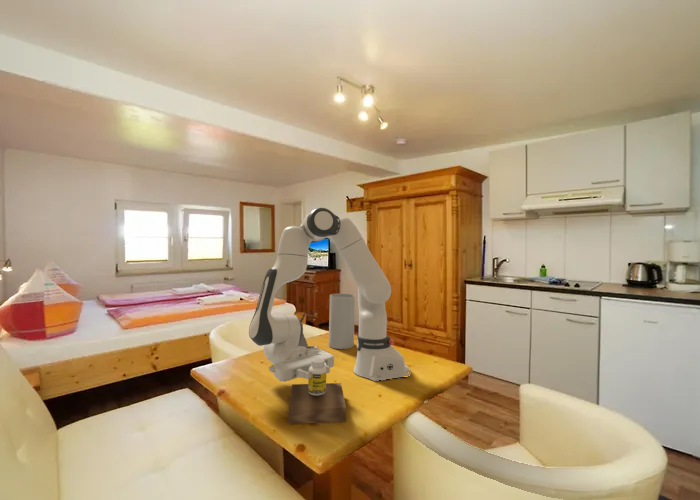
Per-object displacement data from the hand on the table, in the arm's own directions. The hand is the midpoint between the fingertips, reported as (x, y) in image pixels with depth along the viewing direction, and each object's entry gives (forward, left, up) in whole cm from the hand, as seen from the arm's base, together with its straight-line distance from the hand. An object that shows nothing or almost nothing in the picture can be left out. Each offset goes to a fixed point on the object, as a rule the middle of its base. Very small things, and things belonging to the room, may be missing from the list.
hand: (319, 373), depth 95 cm
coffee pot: (+9, -58, -11) cm, 59 cm away
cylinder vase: (-12, -61, -11) cm, 63 cm away
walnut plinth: (+1, -1, -11) cm, 11 cm away
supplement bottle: (+1, -1, -6) cm, 6 cm away
